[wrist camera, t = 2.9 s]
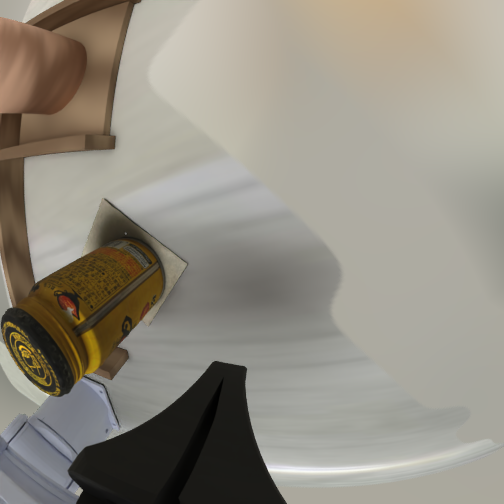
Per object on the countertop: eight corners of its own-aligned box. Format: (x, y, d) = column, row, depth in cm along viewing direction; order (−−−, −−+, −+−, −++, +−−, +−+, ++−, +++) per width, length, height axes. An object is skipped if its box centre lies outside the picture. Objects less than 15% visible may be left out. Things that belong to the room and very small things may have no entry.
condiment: (149, 325, 22) (69, 425, 11) (78, 265, 22) (-21, 329, 10) (188, 263, 20) (87, 371, 8) (105, 197, 19) (-26, 241, 8)
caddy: (128, 358, 24) (76, 427, 15) (40, 322, 25) (-12, 365, 16) (143, -7, 13) (74, -60, 4) (39, 34, 15) (-27, 19, 5)
